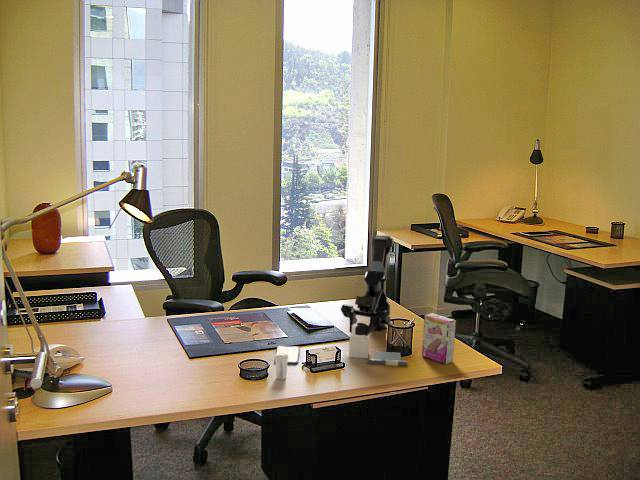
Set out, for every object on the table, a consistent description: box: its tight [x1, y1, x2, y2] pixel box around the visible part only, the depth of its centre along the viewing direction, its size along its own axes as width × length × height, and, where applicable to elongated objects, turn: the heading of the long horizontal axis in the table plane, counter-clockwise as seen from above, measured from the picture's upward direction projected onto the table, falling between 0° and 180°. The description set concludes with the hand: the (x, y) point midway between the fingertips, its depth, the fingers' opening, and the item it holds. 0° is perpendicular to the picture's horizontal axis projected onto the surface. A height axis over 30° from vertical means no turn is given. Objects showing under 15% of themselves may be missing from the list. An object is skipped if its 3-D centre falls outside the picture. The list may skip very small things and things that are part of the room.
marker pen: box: [367, 357, 408, 367], centre depth 256 cm, size 2×14×2 cm, turn 84°
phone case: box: [274, 345, 301, 366], centre depth 261 cm, size 9×2×16 cm
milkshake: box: [272, 351, 288, 381], centre depth 240 cm, size 4×5×10 cm
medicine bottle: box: [348, 322, 370, 359], centre depth 264 cm, size 7×7×12 cm
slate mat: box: [374, 350, 402, 360], centre depth 263 cm, size 10×10×1 cm
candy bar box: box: [421, 312, 457, 365], centre depth 261 cm, size 11×5×16 cm, turn 44°
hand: (358, 333), depth 262 cm, fingers closed on medicine bottle, 6 cm apart
